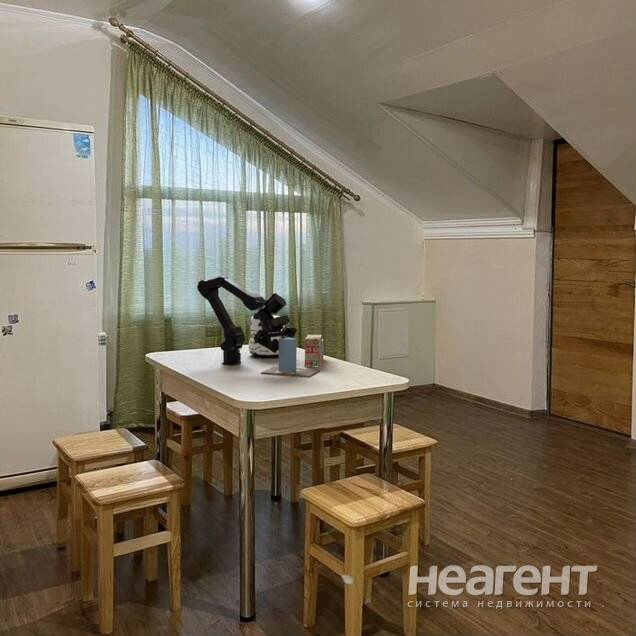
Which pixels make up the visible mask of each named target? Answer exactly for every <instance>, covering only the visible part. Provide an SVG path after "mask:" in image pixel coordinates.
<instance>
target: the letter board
mask: <svg viewBox="0 0 636 636" xmlns="http://www.w3.org/2000/svg"><path fill="white" fill-rule="evenodd" d="M320 371H321V369H315V368H314V369H313V368H304V367H303V368H299V367H296V371H295V372H288V373H286V372H281V371H279V366H272V367H269V368H267V369H265V370H263V371H260V374H261V373H262V374H261V375H271V374H272V375H275V376H284V375H285V376H286V377H287V376H288V377H297V376H300V377H299V378H310V376H311V377H312V376H314V375H316V374H317V372H318V373H319V372H320ZM315 373H316V374H315Z"/></svg>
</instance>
